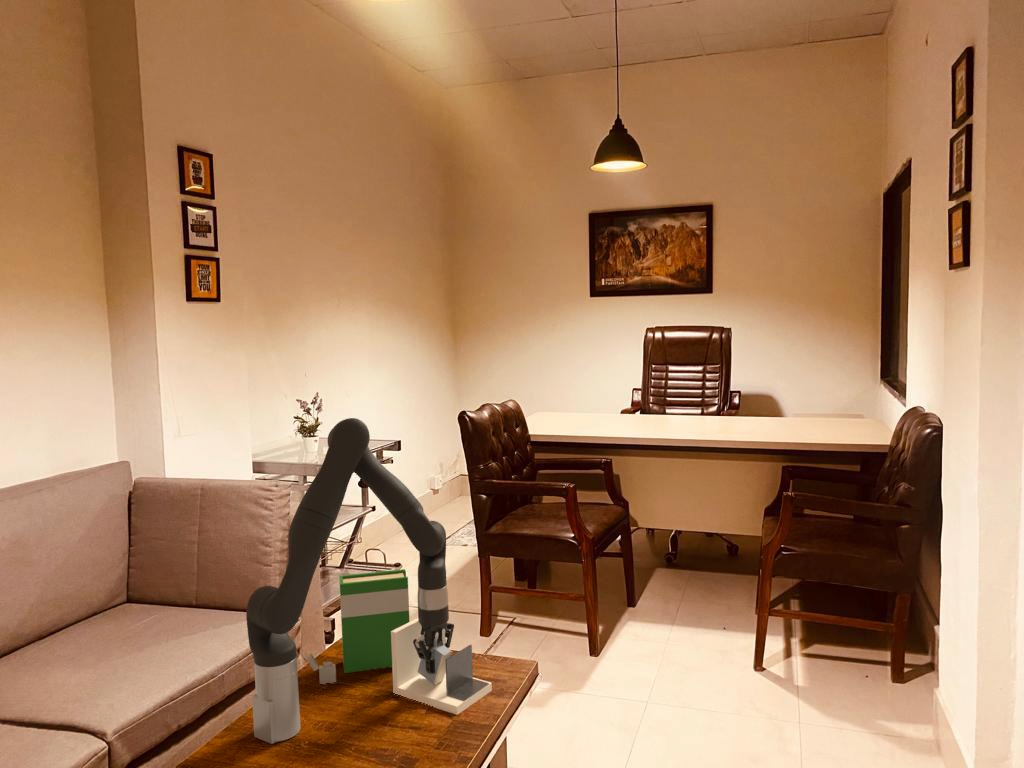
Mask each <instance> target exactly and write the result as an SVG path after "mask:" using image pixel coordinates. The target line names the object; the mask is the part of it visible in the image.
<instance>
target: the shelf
mask: <svg viewBox="0 0 1024 768" xmlns="http://www.w3.org/2000/svg"><path fill="white" fill-rule="evenodd" d="M421 629H422V626H421V625H420V623H419V621H418V617H417V618H415V619H413V620H410V622H409V623H407V624H405V625H403V626H401V627H399V628H397V629H395V630H393V631H391V646H392V667H391V668H392V689H393V690H392V693H395V694H398V695H401V696H404V697H407V698H410V699H413V700H416V701H419V702H422V703H421V704H423V703H425V704H424V705H426V704H428V705H427V706H429V705H430V706H429V707H432V706H433V708H435V709H438V710H441V711H444V712H447V713H450V714H454V715H457V716H458V715H459V714H460V713H462V712H464V711H466V709H468V708H469V707H471V706H473V704H475V703H477V702H478V701H479V700H481V699H482V698H484V697H485V696H486V695H488V694H490V693H491V692H492V691H493V683H492V682H491V681H487V680H483V679H480V678H477V677H473V679H476V680H480V681H483V682H487V683H489V685H487V686H486V687H484V688H483V689H482V690H480V691H479V692H477V693H476V694H474V695H473V696H471V697H470V698H468V699H467V700H465V701H462V700H459V699H456V698H453V697H450V696H447V693H446V673H445V676H444V679H443V681H441V682H440V683H438V684H437V685H434V684H432V683H431V682H430V681H429V680H427V679H426V678H425V677H423V676H422V675H421V674H419V673H418V672H417V671H418V668H419V665H420V661H421V658H419V656H418V654H417V651H416V649H415V646H414V644H413V641H414V639H417V640H418V638H419V637H420V636H421ZM395 694H394V695H395ZM398 695H397V696H398ZM401 696H400V697H401ZM404 697H403V698H404ZM407 698H406V699H407ZM410 699H409V700H410ZM413 700H412V701H413ZM416 701H415V702H416ZM419 702H418V703H419Z"/></svg>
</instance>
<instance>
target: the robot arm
mask: <svg viewBox="0 0 1024 768" xmlns="http://www.w3.org/2000/svg"><path fill="white" fill-rule="evenodd" d="M370 437H371V435H370V430H369V428H368V426H367V425H366V423H365V422H364V421H363V420H361V419H359V418H356V417H352V418H351V417H349V418H345V419H342V420H341V421H339V422H337V423H336V424H335V425H334V426H333V428H332V429H331V430H330V431H329V433H328V435H327V446H328V447H327V451H326V454H325V457H324V459H323V463H322V464H321V466H320V469H319V471H318V472H317V474H316V476H315V477H314V479H313V480H312V482H311V483H310V484H309V486H308V488H307V490H306V492H305V493H304V495H303V496H302V498H301V500H300V503H299V505H297V509H296V511H295V513H294V516H293V517H292V521H291V523H290V526H289V529H288V541H287V542H288V543H287V545H288V559H287V561H288V562H287V567H286V570H285V572H284V574H283V577H282V580H281V582H280V584H279V586H278V587H276V586H273V585H262V586H260V587H258V588H256V589H255V590H254V591H253V592H252V593H251V595H250V596H249V599H248V601H247V605H246V613H245V614H246V628H247V637H248V644H249V645H248V646H249V648H250V652H251V653H252V655H253V663H254V664H253V665H254V682H255V685H254V686H255V694H254V695H252V697H251V701H252V702H251V703H252V716H253V717H252V719H253V736H254V737H255V738H257V739H259V740H261V741H264V742H266V743H268V744H271V745H274V744H275V743H279V742H282V741H287V740H288V739H291V738H293V737H294V736H297V734H298V733H299V732H300V731H301V714H300V711H301V710H300V694H299V679H298V677H299V675H298V657H297V656H298V655H297V644H296V643H295V641H294V640H293V638H291V636H290V634H288V632H290V631H291V630H292V629H293V628H295V626H296V624H297V623H298V621H299V619H300V617H301V615H302V612H303V609H304V607H305V604H306V603H305V602H306V600H307V597H308V594H309V591H310V587H311V584H312V580H313V578H314V574H315V572H316V569H317V567H318V564H319V562H320V559H321V556H322V555H323V551H324V548H325V546H326V545H327V541H328V540H329V538H330V536H331V533H332V531H333V528H334V526H335V524H336V521H337V518H338V516H339V514H340V513H339V512H340V510H341V507H342V505H343V502H344V498H345V496H346V493H347V489H348V486H349V483H350V481H351V478H352V476H353V473H354V474H356V476H357V477H359V479H361V480H362V482H364V484H366V486H367V487H368V488H369V489H370V490H371V492H372V493H373V494H374V495H375V496H376V498H377V499H378V500H379V501H380V503H381V504H383V506H384V507H385V508H386V510H387V511H388V512H389V513H390V514H391V515H392V516H393V518H394V519H395V520H396V521H397V523H399V525H400V526H401V527H402V530H403V531H404V533H405V534H406V537H407V538H408V540H409V541H410V543H411V544H412V546H413V547H414V548H415V549H416V551H418V552H419V555H418V556H419V563H418V566H417V585H418V586H417V616H418V617H417V618H418V621H419V623H420V625H421V626H422V629H421V636H420V637H419V638H418V640H417V639H414V641H413V644H414V646H415V649H416V651H417V654H418V656H419V658H421V659H424V660H425V662H426V671H427V673H430V674H434V673H435V659H434V656H435V650H436V649H437V643H438V642H439V643H440V644H442V645H444V646H445V647H447V648H448V649H450V646H451V643H452V640H453V634H454V629H455V625H454V623H451V622H449V619H450V614H449V592H448V591H449V590H448V585H447V567H446V566H447V565H446V555H447V554H446V553H447V533H446V529H445V527H444V525H442V524H441V523H440V522H439V521H436V520H430V519H429V518H428V517H427V515H426V513H425V512H424V507H423V506H422V504H421V502H420V501H419V500H418V498H417V497H416V496H415V495H414V494H413V492H412V491H410V489H409V488H408V487H407V485H405V484H404V482H403V481H401V480H400V479H399V478H398V477H396V476H395V475H394V474H393V473H392V472H391V471H389V470H388V469H387V468H386V467H385V466H384V465H383V464H382V463H381V462H380V461H379V460H378V459H377V457H376V456H375V455H374V453H373V452H372V450H371V449H370V447H369V444H370ZM427 644H429V645H432V646H429V645H427ZM428 650H430V654H428Z"/></svg>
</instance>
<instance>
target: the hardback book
mask: <svg viewBox="0 0 1024 768" xmlns="http://www.w3.org/2000/svg"><path fill="white" fill-rule="evenodd" d="M338 579H339V594H340V595H339V598H340V619H341V620H340V621H341V640H342V661H343V663H342V664H343V674H348V673H357V671H358V672H364V671H363V670H366V671H370V670H369V669H374V670H377V669H376V668H382V667H389V668H392V667H391V666H392V646H391V631H393V630H395V629H397V628H399V627H401V626H403V625H405V624H407V623H409V622H411V620H410V604H409V603H410V598H409V577H408V576H406V569H405V568H403V569H395V570H394V569H392V570H382V571H374V572H373V571H372V572H365V573H364V572H362V573H352V574H342V575H339V578H338ZM382 669H383V668H382Z"/></svg>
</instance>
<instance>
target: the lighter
mask: <svg viewBox="0 0 1024 768" xmlns="http://www.w3.org/2000/svg"><path fill="white" fill-rule="evenodd" d="M305 657H306V658H305V659H306V660H307V661H308V663H309V666H310V667H311V668H312V671H313V672H316V671H317V670H318V673H319V674H318V676H319V677H318V679H319V685H320V684H323V685H327V684H326V683H330V684H335V683H334V682H336V683H337V668H336V663H333V661H323V663H322V665H320V664H318V662H317V661H316V659H315V657H314V656H313V654H312V652H310V653H308V654H307V655H306V656H305Z"/></svg>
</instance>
